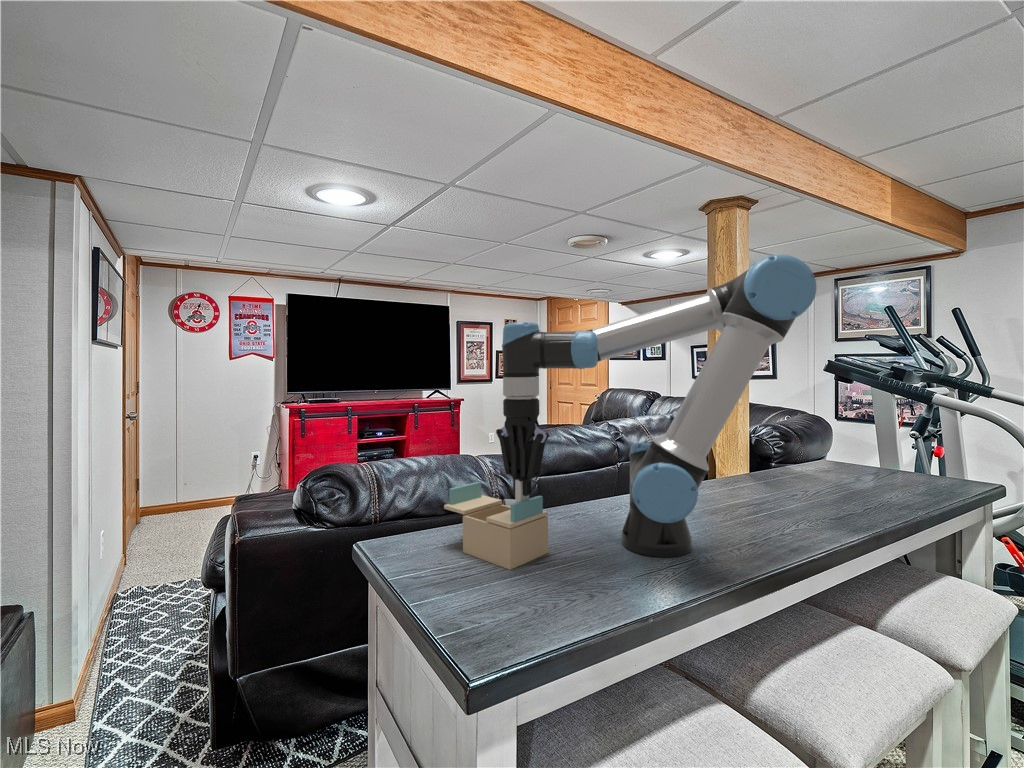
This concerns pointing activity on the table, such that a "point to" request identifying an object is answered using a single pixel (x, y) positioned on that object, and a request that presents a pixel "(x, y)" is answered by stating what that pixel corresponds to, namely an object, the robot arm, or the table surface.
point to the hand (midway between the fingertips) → (522, 510)
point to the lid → (469, 499)
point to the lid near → (520, 513)
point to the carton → (504, 539)
